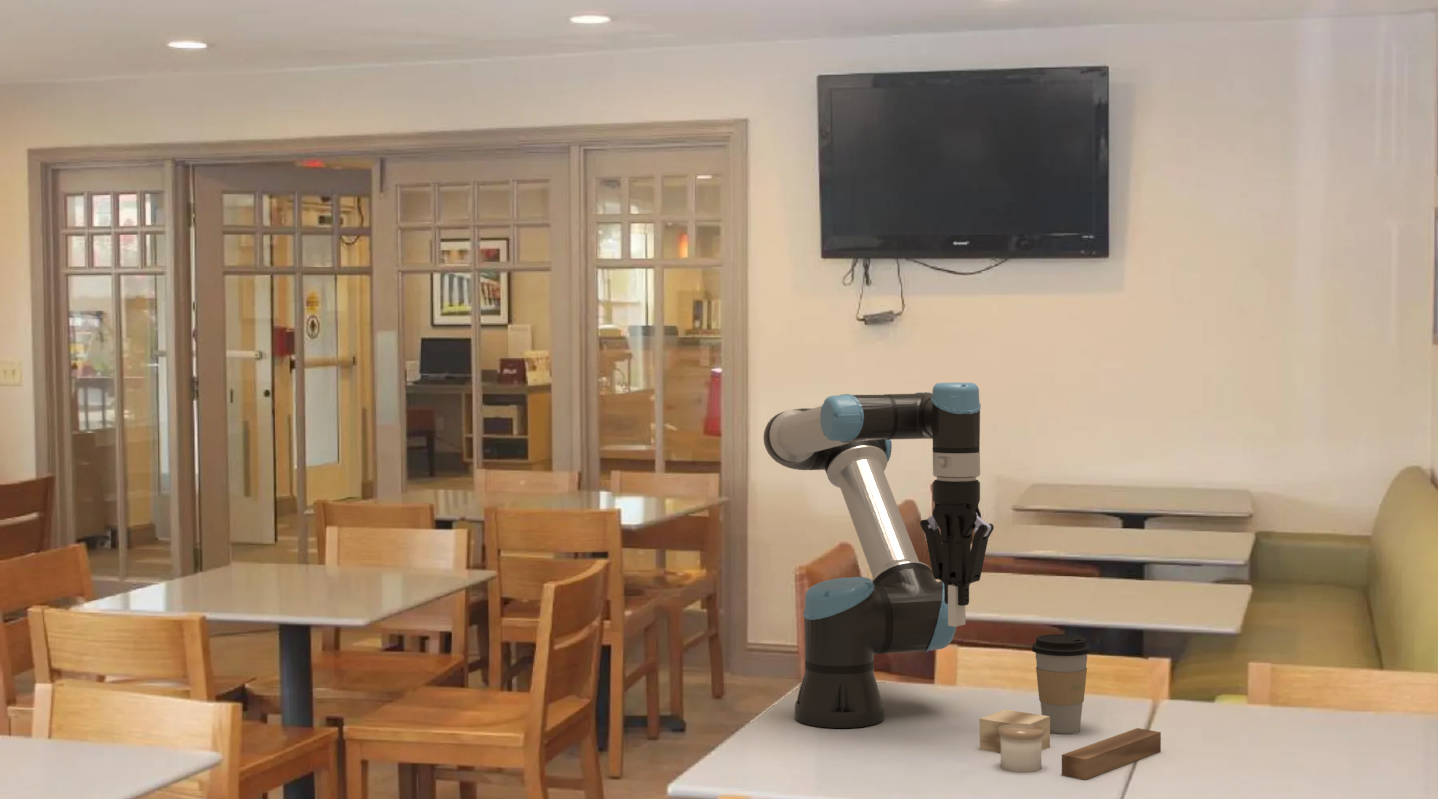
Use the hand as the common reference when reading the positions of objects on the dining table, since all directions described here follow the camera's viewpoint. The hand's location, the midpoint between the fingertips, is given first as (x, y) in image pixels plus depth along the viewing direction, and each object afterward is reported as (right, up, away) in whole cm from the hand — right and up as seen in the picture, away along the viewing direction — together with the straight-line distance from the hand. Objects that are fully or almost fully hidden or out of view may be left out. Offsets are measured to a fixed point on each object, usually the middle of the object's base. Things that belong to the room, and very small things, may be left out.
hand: (956, 624), depth 260 cm
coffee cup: (+18, -18, +5) cm, 26 cm away
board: (+21, -19, -16) cm, 32 cm away
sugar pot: (+7, -19, -18) cm, 27 cm away
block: (+8, -19, -7) cm, 21 cm away
